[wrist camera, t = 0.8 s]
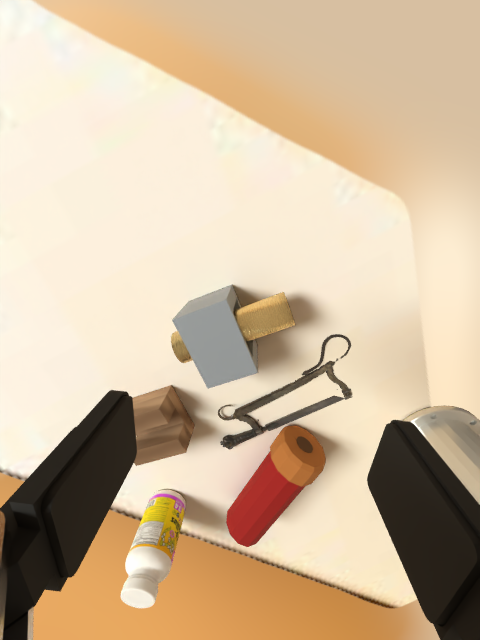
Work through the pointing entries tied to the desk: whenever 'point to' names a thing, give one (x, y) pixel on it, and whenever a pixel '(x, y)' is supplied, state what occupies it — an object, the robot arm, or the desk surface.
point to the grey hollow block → (216, 338)
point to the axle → (250, 322)
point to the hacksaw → (240, 413)
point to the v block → (160, 425)
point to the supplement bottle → (153, 548)
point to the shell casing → (275, 484)
